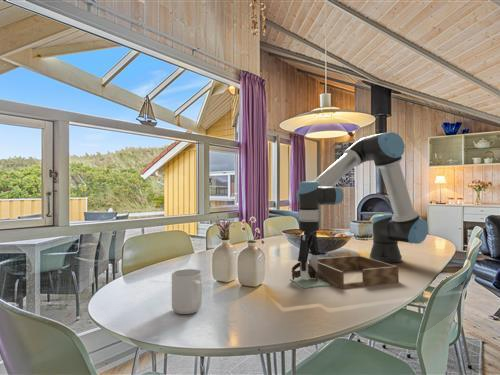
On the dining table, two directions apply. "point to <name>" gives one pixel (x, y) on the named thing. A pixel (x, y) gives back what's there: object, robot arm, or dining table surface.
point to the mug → (186, 291)
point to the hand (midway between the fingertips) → (309, 275)
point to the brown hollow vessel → (297, 273)
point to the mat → (310, 282)
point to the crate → (370, 268)
